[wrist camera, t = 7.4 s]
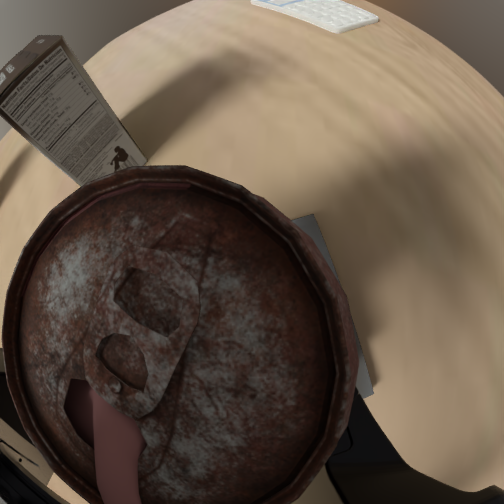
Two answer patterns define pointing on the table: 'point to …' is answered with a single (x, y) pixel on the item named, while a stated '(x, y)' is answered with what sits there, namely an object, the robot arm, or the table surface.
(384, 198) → the table surface
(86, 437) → the can
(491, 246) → the table surface
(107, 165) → the coffee box
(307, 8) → the calculator
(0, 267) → the table surface
